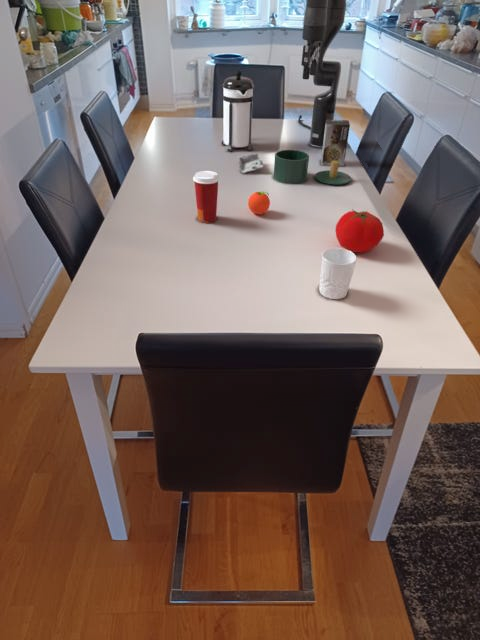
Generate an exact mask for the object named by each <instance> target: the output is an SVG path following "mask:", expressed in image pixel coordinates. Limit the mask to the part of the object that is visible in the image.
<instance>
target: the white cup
mask: <svg viewBox="0 0 480 640" xmlns="http://www.w3.org/2000/svg"><path fill="white" fill-rule="evenodd" d="M357 258H358V257H357V256H356V254H355V252H352V251H349V250H346V249H345V248H343V247H330V248H327V249H325V250H324V251H322V253H321V262H320V274H319V287H318V290H319V293H320V295H322V296H323V297H325V298H327V299H331V300H341V299H343V298H345V297H346V296H347V294H348V290H349V287H350V285H351V281H352V278H353V274H354V270H355V267H356V263H357Z"/></svg>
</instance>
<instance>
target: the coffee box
mask: <svg viewBox="0 0 480 640" xmlns="http://www.w3.org/2000/svg"><path fill="white" fill-rule="evenodd" d="M350 127H351V124H350V120H347V119H334V120H326V124H325V132H324V140H323V148H321V149H322V150H321V157H320V163H321V164H320V165H321V166H331V162H332V161H338V162H339V166H338V167H344V166H345V161H346V154H347V147H348V141H349V134H350Z"/></svg>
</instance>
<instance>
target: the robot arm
mask: <svg viewBox="0 0 480 640" xmlns="http://www.w3.org/2000/svg"><path fill="white" fill-rule="evenodd" d="M304 10H305V11H304V15H303V24H302V25H303V27H302V34H301V35H302V37H301V38H302V40H303V41H306V45H305V44H303V46H302V55H301V64H300V65H301V66H302V68H303V69H302V80H307V81H308V80H309V79H310V76H313V77H312V81H313V85H314V86H317V87H329V89H328V90H326V91H325V92H322V93H319V94H316V95H315V96H314V98H313V100H314V101H313V109H312V117H311V126H310V125H308V124H305V123H303V122H302V121H301V119H302V118H303V116H302V114H300V115H299V116H298V124H299V125H300V126H303V127H305V128H307V129H309V130H310V134H309V142H308V145H309V146H310V147H313V148H317V149H323V140H324V132H325V124H326V120H335V111H336V104H337V96H338V89H339V85H340V79H341V74H342V73H341V72H342V64H341V62H340V61H336V60H335V61H334V60H324V58H325V55H326V53H327V51H328V49H329V48H330V46H331V44H332V42H333V41H334V39H335V38H336V36H337V35H338V34H339V33H340V31H341V29H342V27H343V26H344V23H345V17H346V10H347V0H306V1H305V9H304Z"/></svg>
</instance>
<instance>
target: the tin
mask: <svg viewBox="0 0 480 640" xmlns="http://www.w3.org/2000/svg"><path fill="white" fill-rule="evenodd" d="M309 161H310V155H309V154H308V152H305V151H303V150H298V149H281V150H278V151H276V152H274V165H273V179H274V180H275V181H277V182H279V183H282V184H287V185H296V184H302V183H305V182H306V181H307V179H308V172H309V171H308V170H309V163H310V162H309Z"/></svg>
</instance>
